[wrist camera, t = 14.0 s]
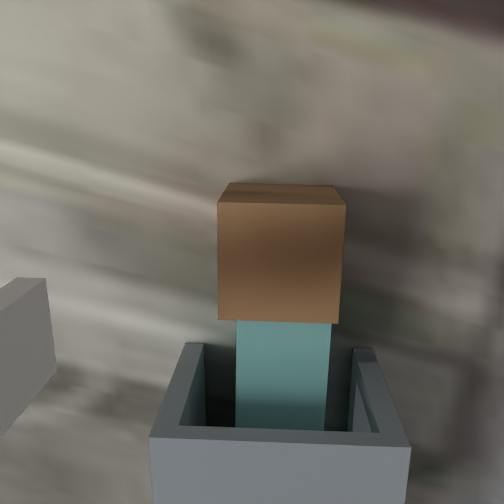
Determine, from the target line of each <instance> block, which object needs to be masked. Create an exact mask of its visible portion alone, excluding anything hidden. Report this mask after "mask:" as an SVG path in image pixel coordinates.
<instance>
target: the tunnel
mask: <svg viewBox="0 0 504 504" xmlns="http://www.w3.org/2000/svg"><path fill="white" fill-rule="evenodd" d="M149 450H150V466H151V481H152V497H153V504H405V497H406V489H407V481H408V472H409V464H410V456H411V445H410V443H409V440H408V438H407V435H406V433H405V430H404V427H403V425H402V422H401V420H400V417H399V415H398V412H397V410H396V407H395V405H394V402H393V400H392V397H391V395H390V392H389V389H388V387H387V384H386V382H385V379H384V377H383V374H382V372H381V369H380V367H379V364H378V362H377V359H376V357H375V354H374V351H373V349H370V348H353V360H352V373H351V386H350V400H349V413H348V426H347V432H341V431H314V430H288V429H261V428H235V427H208V426H206V415H205V373H204V344H202V343H185V345H184V348H183V350H182V353H181V356H180V358H179V361H178V363H177V366H176V368H175V371H174V374H173V376H172V379H171V381H170V384H169V386H168V389H167V392H166V394H165V397H164V399H163V402H162V405H161V407H160V410H159V412H158V415H157V417H156V420H155V423H154V425H153V428H152V430H151V433H150V435H149Z"/></svg>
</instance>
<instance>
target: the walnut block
mask: <svg viewBox="0 0 504 504" xmlns="http://www.w3.org/2000/svg"><path fill="white" fill-rule="evenodd" d="M346 206H347V205H346V204H345V202H344V201H343V200H342V198H341V197H340V195H339V194H338V192H337V191H336V190H335V188H334V187H333V185H290V184H244V183H229V184H228V186H227V188H226V189H225V191H224V192H223V194H222V196H221V197H220V199H219V200H218V202H217V220H218V320H238V321H268V322H297V323H327V324H338V318H339V304H340V290H341V276H342V262H343V248H344V234H345V220H346Z"/></svg>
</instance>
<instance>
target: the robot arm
mask: <svg viewBox="0 0 504 504" xmlns="http://www.w3.org/2000/svg"><path fill="white" fill-rule="evenodd" d="M56 372H57V366H56V358H55V350H54V342H53V334H52V326H51V318H50V310H49V302H48V294H47V286H46V278H16V279H14V280H13V281H11V282H10V283H8V284H7V285H5V286H4V287H2V288H1V289H0V438H1V437H2V436H3V434H4V433H5V432H6V431H7V430H8V428H9V427H10V426H11V425H12V424H13V423H14V421H15V420H16V419H17V418H18V417H19V415H20V414H21V413H22V412H23V411H24V409H25V408H26V407H27V406H28V405H29V404H30V402H31V401H32V400H33V399H34V398H35V396H36V395H37V394H38V393H39V392H40V391H41V389H42V388H43V387H44V386H45V385H46V383H47V382H48V381H49V380H50V379H51V377H52V376H53V375H54V374H55V373H56Z"/></svg>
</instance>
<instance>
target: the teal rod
mask: <svg viewBox="0 0 504 504" xmlns="http://www.w3.org/2000/svg"><path fill="white" fill-rule="evenodd" d="M331 325H332V324H327V323H297V322H268V321H238V320H237V325H236V426H235V428H261V429H288V430H314V431H324V423H325V409H326V395H327V381H328V367H329V353H330V339H331Z"/></svg>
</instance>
